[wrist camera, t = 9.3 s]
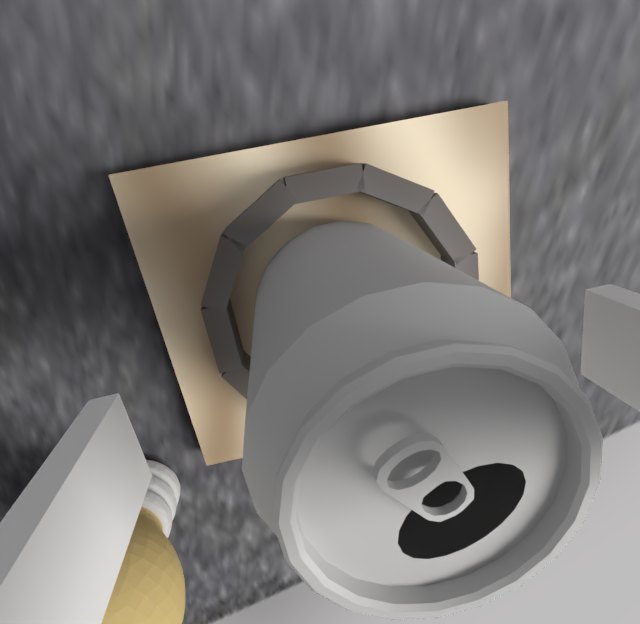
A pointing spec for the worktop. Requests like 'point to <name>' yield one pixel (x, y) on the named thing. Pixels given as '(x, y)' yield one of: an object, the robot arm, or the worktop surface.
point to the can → (410, 427)
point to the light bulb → (151, 560)
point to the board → (293, 219)
